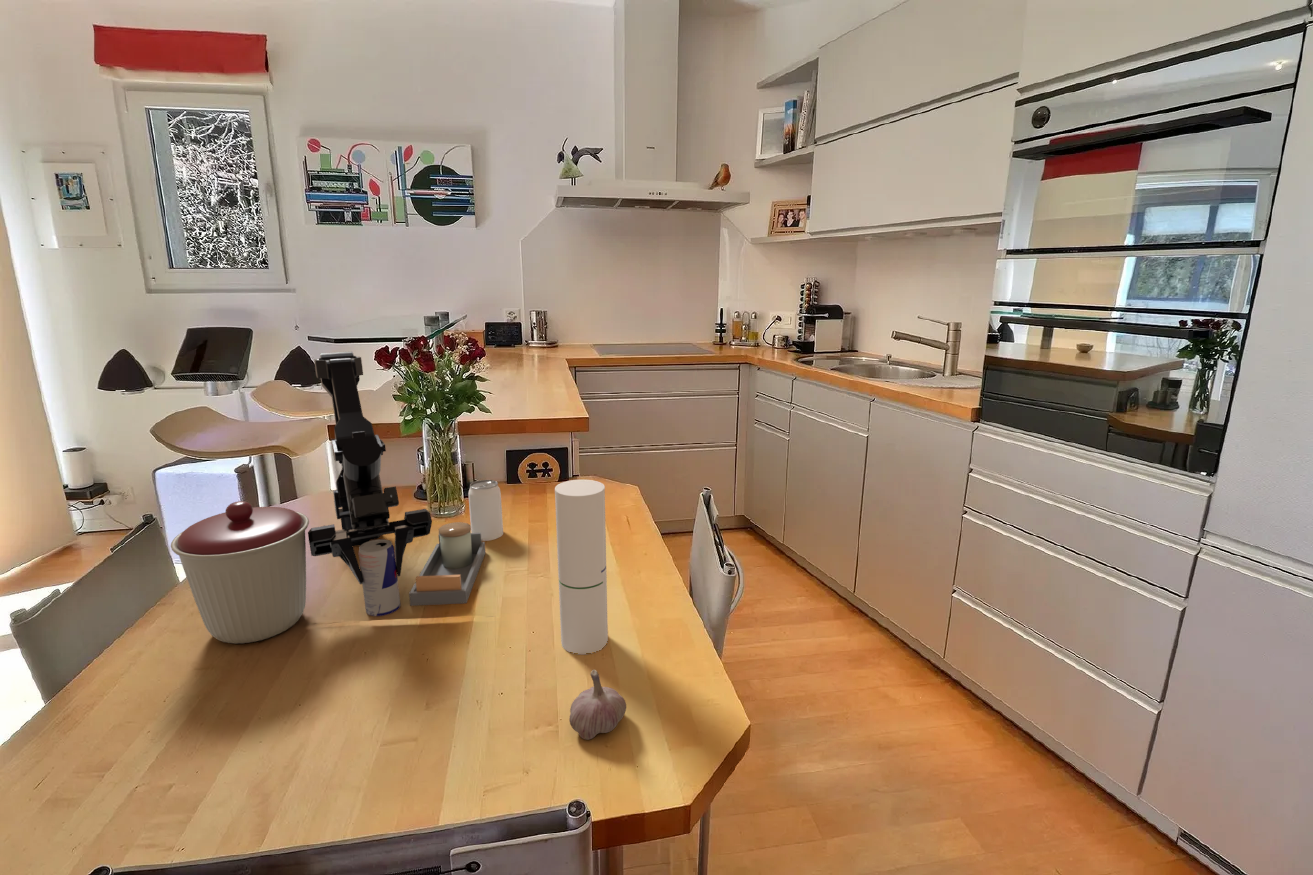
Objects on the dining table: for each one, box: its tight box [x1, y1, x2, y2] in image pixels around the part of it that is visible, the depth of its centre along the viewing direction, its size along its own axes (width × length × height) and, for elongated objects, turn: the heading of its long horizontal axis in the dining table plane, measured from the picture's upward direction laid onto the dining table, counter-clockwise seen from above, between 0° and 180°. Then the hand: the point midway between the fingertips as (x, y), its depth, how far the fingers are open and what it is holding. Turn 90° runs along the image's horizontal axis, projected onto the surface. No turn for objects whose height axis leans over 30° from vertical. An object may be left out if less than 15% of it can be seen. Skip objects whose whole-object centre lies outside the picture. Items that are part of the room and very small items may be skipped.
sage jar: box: [438, 521, 473, 569], centre depth 125 cm, size 6×6×7 cm
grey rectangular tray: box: [408, 533, 486, 607], centre depth 120 cm, size 9×20×5 cm, turn 5°
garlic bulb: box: [568, 669, 627, 741], centre depth 82 cm, size 8×7×8 cm
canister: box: [170, 500, 310, 645], centre depth 103 cm, size 18×18×21 cm
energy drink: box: [357, 538, 401, 617], centre depth 108 cm, size 5×5×12 cm
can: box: [467, 479, 504, 542], centre depth 137 cm, size 6×6×12 cm
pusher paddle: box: [415, 575, 462, 592], centre depth 111 cm, size 7×1×4 cm, turn 95°
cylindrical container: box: [554, 479, 609, 655], centre depth 98 cm, size 7×7×25 cm
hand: (380, 579), depth 107 cm, fingers closed on energy drink, 5 cm apart
